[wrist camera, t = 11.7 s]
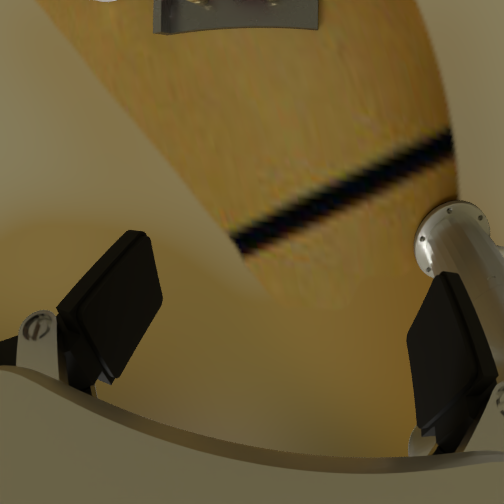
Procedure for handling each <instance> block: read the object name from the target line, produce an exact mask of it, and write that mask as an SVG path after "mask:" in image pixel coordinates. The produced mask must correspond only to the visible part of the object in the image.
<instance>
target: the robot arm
mask: <svg viewBox="0 0 504 504" xmlns="http://www.w3.org/2000/svg"><path fill="white" fill-rule="evenodd" d="M414 253H415V258H416V260H417V263H418V265H419V266H420V268H421V270H422V271H423V272H424V273H426V274H427V275H429V276H430V277H433V278H434V279H433V281H432V284H431V286H430V288H429V291H428V293H427V295H426V297H425V299H424V301H423V304H422V305H421V308H420V310H419V312H418V314H417V316H416V318H415V320H414V322H413V324H412V325H411V327H410V329H409V331H408V334H407V348H408V354H409V360H410V366H411V373H412V381H413V389H414V398H415V408H416V419H417V425H416V427H415V428H414V430H413V432H412V433H411V437H410V440H409V445H408V455H409V457H392V458H390V457H389V458H357V457H355V458H354V457H334V456H321V455H310V454H300V453H291V452H284V451H277V450H270V449H264V448H259V447H253V446H247V445H243V444H237V443H233V442H228V441H224V440H219V439H216V438H211V437H207V436H203V435H200V434H196V433H193V432H189V431H186V430H182V429H179V428H175V427H172V426H169V425H166V424H163V423H160V422H156V421H154V420H151V419H148V418H145V417H142V416H140V415H137V414H134V413H132V412H129V411H126V410H123V409H121V408H119V407H116V406H114V405H112V404H109V403H107V402H105V401H102V400H100V399H98V398H97V393H96V388H95V382H96V380H97V379H99V380H100V381H103V382H105V383H108V384H110V385H112V383H113V381H114V379H115V378H118V377H120V375H121V373H122V372H123V370H124V368H125V366H126V365H127V362H128V361H129V359H130V357H131V356H132V354H133V352H134V351H135V349H136V347H137V345H138V344H139V342H140V340H141V339H142V337H143V335H144V334H145V332H146V330H147V328H148V327H149V325H150V323H151V322H152V320H153V318H154V317H155V315H156V313H157V312H158V310H159V308H160V307H161V305H162V301H163V296H162V292H161V287H160V283H159V278H158V275H157V269H156V265H155V260H154V255H153V250H152V245H151V240H150V238H149V237H148V236H147V235H146V233H145V232H143V231H134V230H128V231H126V232H125V233H124V234H123V235H122V236H121V237H120V238H119V239H118V240H117V241H116V242H115V243H114V244H113V245H112V246H111V247H110V248H109V249H108V251H107V252H106V253H105V254H104V255H103V256H102V257H101V258H100V259H99V260H98V261H97V262H96V263H95V264H94V265H93V266H92V267H91V269H90V270H89V271H88V272H87V273H86V274H85V275H84V276H83V277H82V278H81V279H80V281H79V282H78V283H77V284H76V285H75V286H74V287H73V288H72V290H71V291H70V292H69V293H68V294H67V295H66V297H65V298H64V299H63V300H62V301H61V302H60V304H59V305H58V306H57V307H56V308H57V310H58V312H59V314H58V315H57V316H55V315H54V314H53V313H52V312H50V311H48V310H40V311H37V312H34V313H32V314H31V315H29V316H28V317H27V318H26V319H25V320H24V321H23V323H22V324H21V326H20V329H19V334H18V336H15V337H12V338H9V339H6V340H4V341H1V342H0V504H504V257H503V255H504V247H501V246H496V245H495V243H494V242H493V241H492V239H491V238H490V227H489V223H488V220H487V219H486V216H485V215H484V214H483V212H482V211H481V210H480V209H479V208H478V207H477V206H475V205H474V204H472V203H470V202H466V201H451V202H447V203H444V204H442V205H440V206H438V207H437V208H435V209H434V210H432V211H431V212H430V213H429V214H428V215H427V216H426V217H425V219H424V220H423V221H422V223H421V224H420V226H419V228H418V230H417V233H416V236H415V240H414Z"/></svg>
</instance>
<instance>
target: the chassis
mask: <svg viewBox="0 0 504 504" xmlns="http://www.w3.org/2000/svg"><path fill="white" fill-rule="evenodd" d="M232 28H292V29H308V30H318V0H154V13H153V33H155V34H162V35H173V34H179V33H187V32H195V31H205V30H216V29H232Z"/></svg>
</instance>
